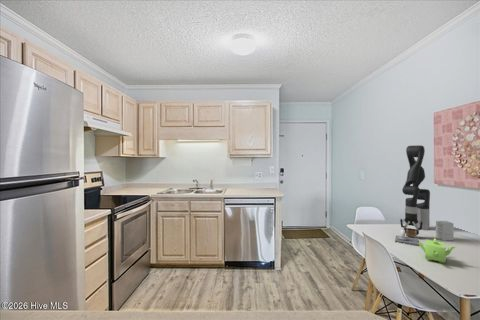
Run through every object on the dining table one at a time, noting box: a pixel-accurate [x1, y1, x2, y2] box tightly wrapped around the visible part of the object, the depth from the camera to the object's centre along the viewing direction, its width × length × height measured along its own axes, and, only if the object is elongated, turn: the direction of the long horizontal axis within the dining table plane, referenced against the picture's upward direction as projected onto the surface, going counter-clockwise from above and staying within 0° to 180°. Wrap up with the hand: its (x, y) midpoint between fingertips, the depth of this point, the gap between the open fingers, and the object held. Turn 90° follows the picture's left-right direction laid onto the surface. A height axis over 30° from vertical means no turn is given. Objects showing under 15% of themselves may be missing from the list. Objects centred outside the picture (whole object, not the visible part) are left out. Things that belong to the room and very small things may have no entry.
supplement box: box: [435, 220, 455, 241], centre depth 174 cm, size 7×7×13 cm
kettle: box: [418, 238, 456, 264], centre depth 141 cm, size 15×14×11 cm
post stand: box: [394, 228, 419, 247], centre depth 171 cm, size 13×13×8 cm
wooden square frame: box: [405, 227, 418, 239], centre depth 179 cm, size 6×6×4 cm
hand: (411, 233), depth 179 cm, fingers closed on wooden square frame, 6 cm apart
